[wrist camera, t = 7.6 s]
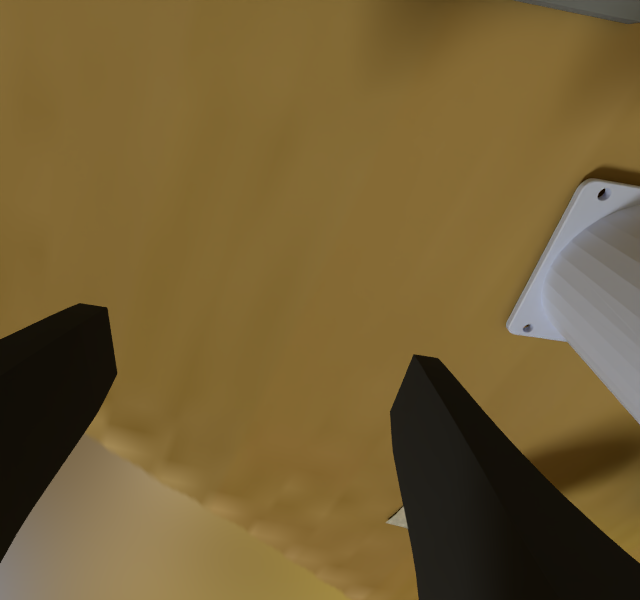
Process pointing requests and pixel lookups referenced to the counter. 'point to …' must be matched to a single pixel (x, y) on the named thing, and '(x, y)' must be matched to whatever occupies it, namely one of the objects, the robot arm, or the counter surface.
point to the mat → (597, 8)
